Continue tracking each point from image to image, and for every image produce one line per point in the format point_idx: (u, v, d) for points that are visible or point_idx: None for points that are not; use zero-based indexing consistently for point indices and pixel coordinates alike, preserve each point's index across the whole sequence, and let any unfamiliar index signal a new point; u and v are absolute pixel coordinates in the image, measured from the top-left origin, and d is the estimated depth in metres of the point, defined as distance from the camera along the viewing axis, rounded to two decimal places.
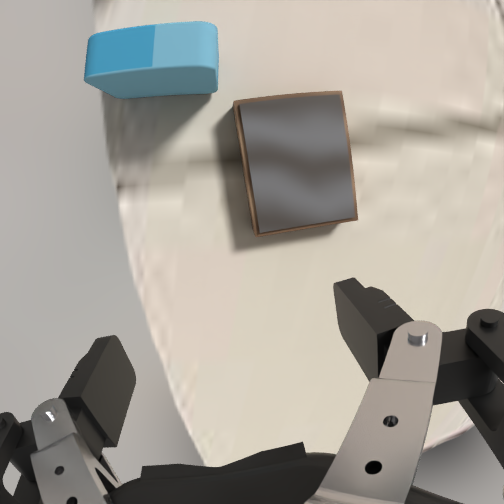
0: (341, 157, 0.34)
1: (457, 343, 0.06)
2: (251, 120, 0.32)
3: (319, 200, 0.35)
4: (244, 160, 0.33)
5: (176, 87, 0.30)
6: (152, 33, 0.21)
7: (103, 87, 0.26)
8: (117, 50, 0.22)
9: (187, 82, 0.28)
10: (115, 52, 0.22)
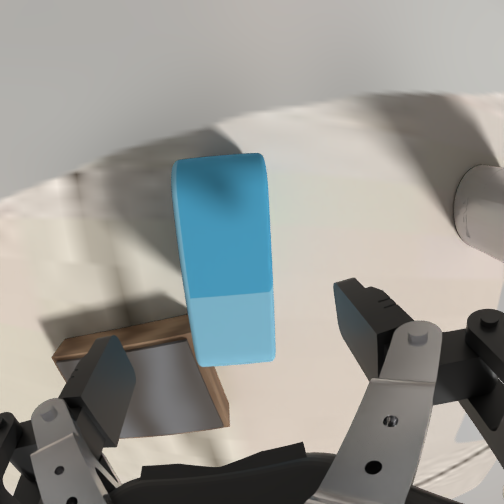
0: (155, 430, 0.29)
1: (457, 343, 0.06)
2: (168, 354, 0.26)
3: None
4: None
5: None
6: (253, 289, 0.16)
7: None
8: (222, 232, 0.15)
9: None
10: (218, 229, 0.15)
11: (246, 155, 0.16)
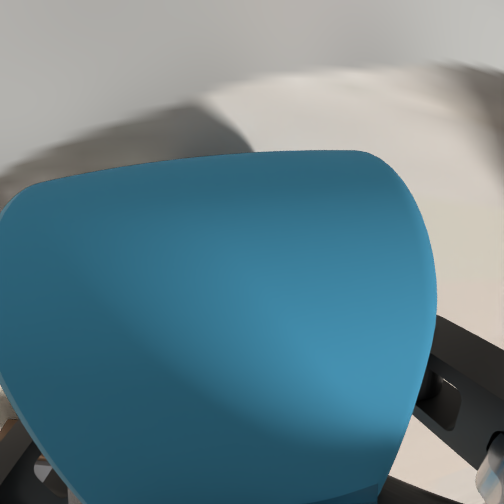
0: None
1: None
2: None
3: None
4: None
5: None
6: None
7: None
8: (220, 497, 0.03)
9: None
10: (200, 492, 0.03)
11: (322, 159, 0.03)
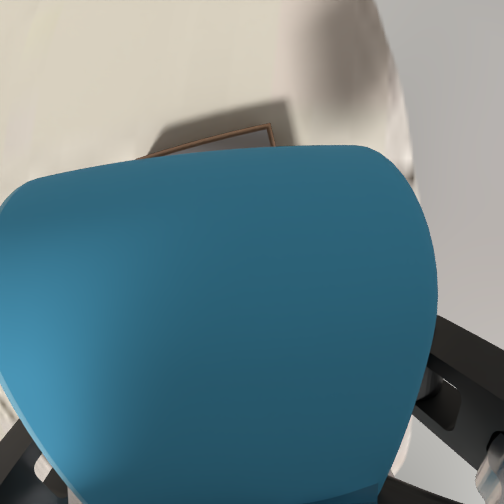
0: None
1: None
2: None
3: None
4: None
5: None
6: None
7: None
8: (219, 494, 0.03)
9: None
10: (200, 489, 0.03)
11: (322, 152, 0.03)
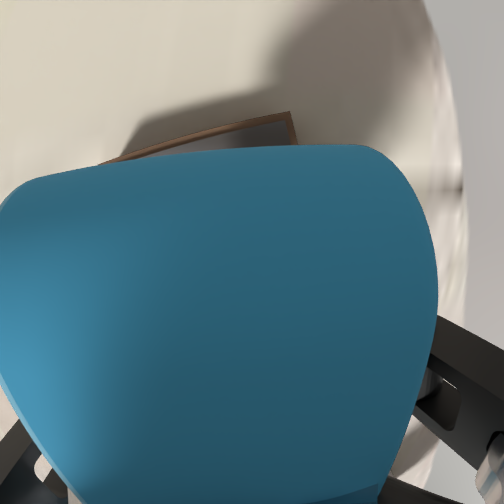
0: None
1: None
2: None
3: None
4: None
5: None
6: None
7: None
8: (219, 494, 0.03)
9: None
10: (200, 489, 0.03)
11: (322, 152, 0.03)
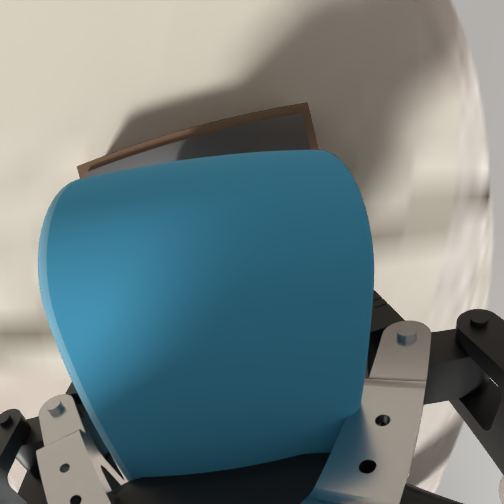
0: None
1: (447, 343, 0.07)
2: None
3: None
4: None
5: None
6: None
7: None
8: (220, 420, 0.04)
9: None
10: (205, 414, 0.04)
11: (290, 157, 0.04)
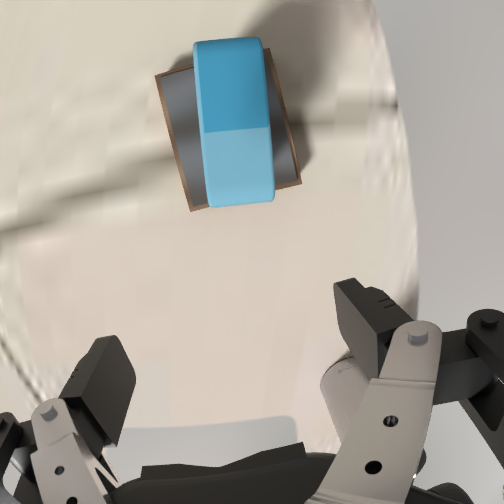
0: (183, 137, 0.30)
1: (457, 343, 0.06)
2: (284, 164, 0.32)
3: None
4: (287, 123, 0.31)
5: None
6: (254, 125, 0.20)
7: None
8: (230, 81, 0.18)
9: None
10: (227, 79, 0.18)
11: (246, 37, 0.19)
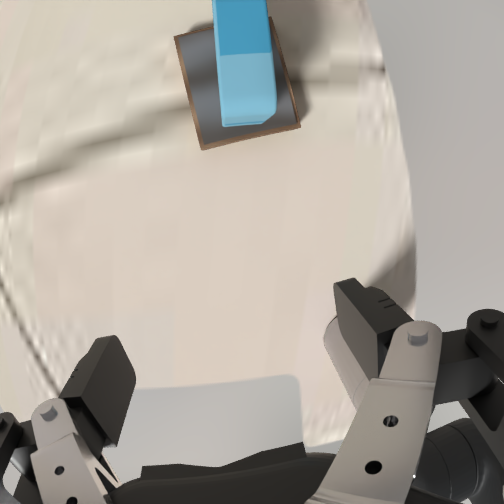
0: (197, 85, 0.33)
1: (457, 343, 0.06)
2: (285, 109, 0.35)
3: None
4: (287, 75, 0.34)
5: None
6: (260, 50, 0.22)
7: None
8: (241, 20, 0.21)
9: None
10: (238, 18, 0.21)
11: None
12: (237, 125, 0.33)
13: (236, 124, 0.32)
